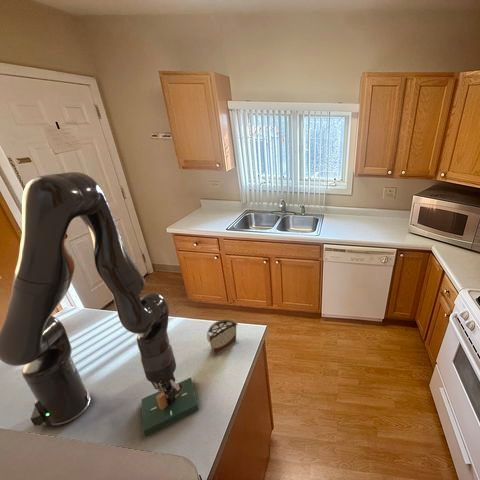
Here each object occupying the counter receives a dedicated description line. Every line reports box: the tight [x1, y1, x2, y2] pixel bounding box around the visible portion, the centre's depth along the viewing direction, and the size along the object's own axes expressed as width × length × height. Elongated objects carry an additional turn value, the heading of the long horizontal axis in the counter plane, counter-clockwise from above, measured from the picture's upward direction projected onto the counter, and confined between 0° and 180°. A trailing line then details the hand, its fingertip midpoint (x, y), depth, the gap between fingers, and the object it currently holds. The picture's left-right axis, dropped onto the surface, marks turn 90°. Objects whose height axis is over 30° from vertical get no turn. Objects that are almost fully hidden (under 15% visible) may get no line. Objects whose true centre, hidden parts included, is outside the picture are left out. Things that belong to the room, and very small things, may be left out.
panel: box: [141, 377, 199, 437], centre depth 78 cm, size 14×11×3 cm
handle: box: [156, 392, 179, 410], centre depth 77 cm, size 6×1×5 cm, turn 154°
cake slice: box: [206, 318, 238, 357], centre depth 100 cm, size 12×6×10 cm, turn 141°
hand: (169, 400), depth 78 cm, fingers closed
